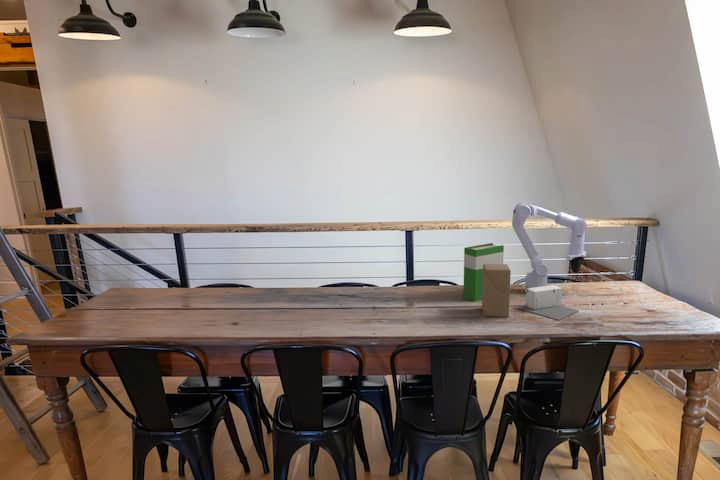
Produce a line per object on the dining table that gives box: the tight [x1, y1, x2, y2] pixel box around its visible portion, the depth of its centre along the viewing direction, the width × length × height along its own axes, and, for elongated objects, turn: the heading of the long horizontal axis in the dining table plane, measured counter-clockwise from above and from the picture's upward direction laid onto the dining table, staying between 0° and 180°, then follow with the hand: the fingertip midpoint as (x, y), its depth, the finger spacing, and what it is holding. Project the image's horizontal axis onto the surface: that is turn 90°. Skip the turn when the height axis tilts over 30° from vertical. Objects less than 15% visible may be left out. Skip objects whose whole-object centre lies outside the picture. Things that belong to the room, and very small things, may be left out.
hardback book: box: [463, 242, 505, 303], centre depth 203 cm, size 18×7×24 cm, turn 120°
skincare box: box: [525, 284, 564, 310], centre depth 188 cm, size 8×6×15 cm
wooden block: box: [481, 263, 512, 318], centre depth 181 cm, size 10×10×20 cm
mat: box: [518, 304, 580, 322], centre depth 184 cm, size 18×16×1 cm
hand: (575, 272), depth 202 cm, fingers closed
